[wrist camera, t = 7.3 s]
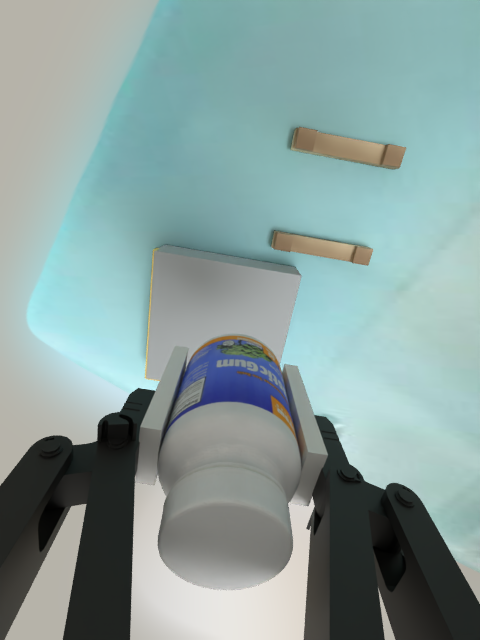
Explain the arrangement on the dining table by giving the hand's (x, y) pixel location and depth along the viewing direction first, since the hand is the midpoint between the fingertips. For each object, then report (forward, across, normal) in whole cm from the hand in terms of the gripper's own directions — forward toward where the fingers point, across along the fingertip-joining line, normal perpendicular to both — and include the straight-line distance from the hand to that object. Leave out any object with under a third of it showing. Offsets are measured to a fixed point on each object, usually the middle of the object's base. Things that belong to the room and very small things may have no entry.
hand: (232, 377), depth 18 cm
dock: (+18, -1, -3) cm, 18 cm away
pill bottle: (+1, 0, 0) cm, 1 cm away
